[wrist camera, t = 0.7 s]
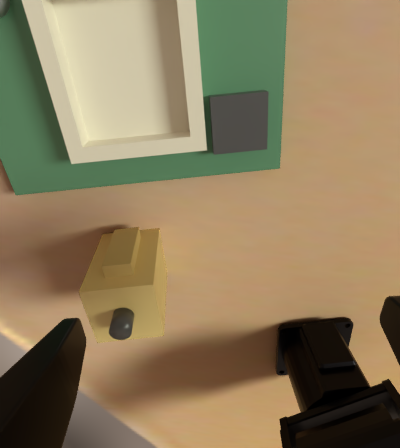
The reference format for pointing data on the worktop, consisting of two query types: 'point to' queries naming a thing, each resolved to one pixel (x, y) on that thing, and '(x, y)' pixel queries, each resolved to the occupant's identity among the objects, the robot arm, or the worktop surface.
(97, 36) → the board
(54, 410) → the robot arm
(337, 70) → the worktop surface
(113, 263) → the plug
